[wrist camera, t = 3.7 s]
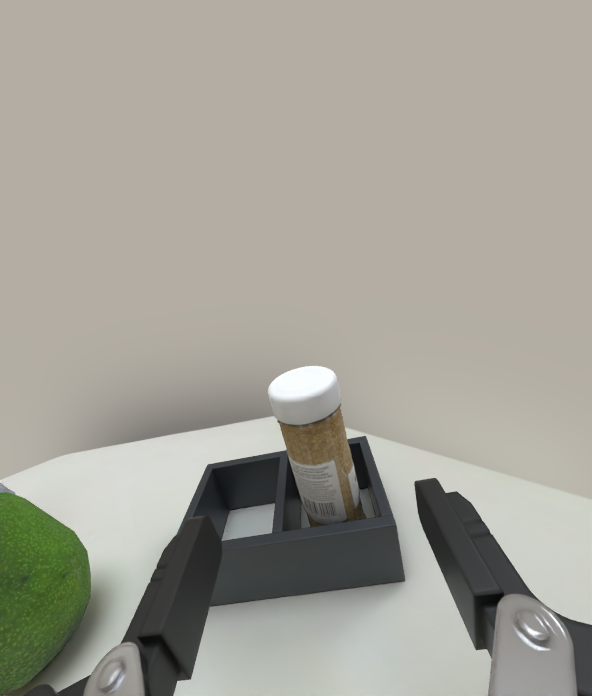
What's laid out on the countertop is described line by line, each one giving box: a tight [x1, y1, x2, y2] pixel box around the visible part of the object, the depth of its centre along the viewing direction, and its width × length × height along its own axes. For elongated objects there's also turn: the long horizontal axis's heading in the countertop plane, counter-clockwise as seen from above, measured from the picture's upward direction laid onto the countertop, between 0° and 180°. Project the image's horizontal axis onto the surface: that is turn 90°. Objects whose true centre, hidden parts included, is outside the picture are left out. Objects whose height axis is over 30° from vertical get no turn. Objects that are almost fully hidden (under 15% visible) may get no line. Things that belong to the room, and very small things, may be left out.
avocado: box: [0, 492, 91, 695], centre depth 18 cm, size 8×8×12 cm
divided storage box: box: [176, 436, 405, 606], centre depth 22 cm, size 14×8×5 cm, turn 89°
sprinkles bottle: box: [268, 366, 366, 527], centre depth 20 cm, size 5×5×14 cm
